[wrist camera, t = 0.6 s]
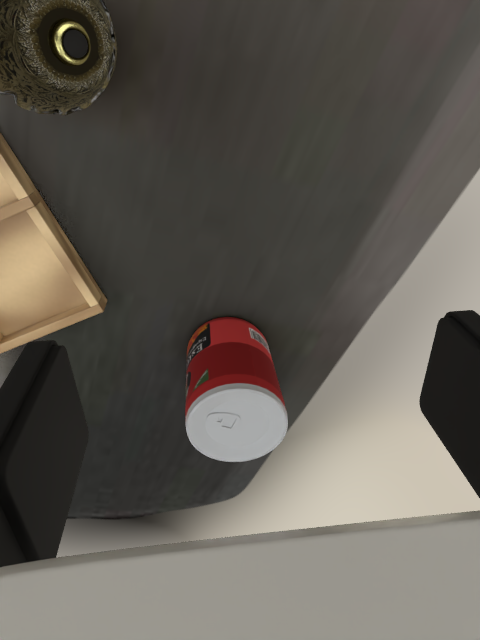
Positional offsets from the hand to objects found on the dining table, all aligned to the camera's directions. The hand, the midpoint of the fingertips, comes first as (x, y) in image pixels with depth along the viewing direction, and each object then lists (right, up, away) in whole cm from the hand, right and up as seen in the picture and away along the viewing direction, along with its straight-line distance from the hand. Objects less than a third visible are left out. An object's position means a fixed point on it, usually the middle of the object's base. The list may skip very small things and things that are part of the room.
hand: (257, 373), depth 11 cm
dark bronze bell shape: (-12, +20, +18) cm, 29 cm away
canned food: (-2, -1, +32) cm, 32 cm away
